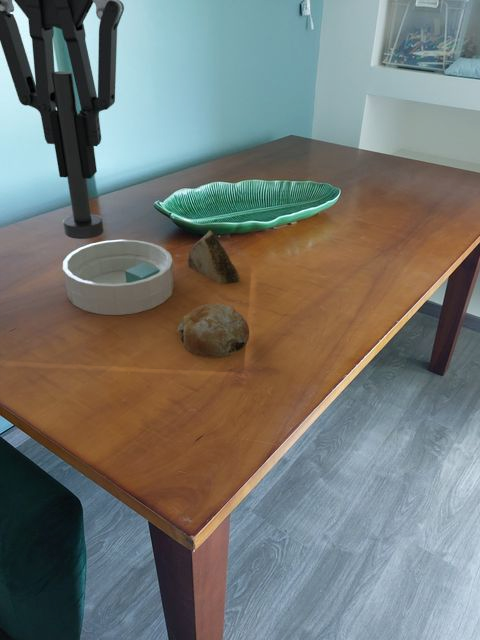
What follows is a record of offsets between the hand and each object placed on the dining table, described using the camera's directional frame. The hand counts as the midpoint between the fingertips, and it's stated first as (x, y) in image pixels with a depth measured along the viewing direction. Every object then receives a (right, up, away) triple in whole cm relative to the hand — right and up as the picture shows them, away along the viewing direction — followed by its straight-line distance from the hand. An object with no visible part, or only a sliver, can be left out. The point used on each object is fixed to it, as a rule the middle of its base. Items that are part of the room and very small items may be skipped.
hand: (78, 173), depth 61 cm
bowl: (-3, -10, +32) cm, 33 cm away
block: (+1, -10, +31) cm, 32 cm away
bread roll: (+13, -19, +20) cm, 31 cm away
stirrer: (0, -6, +3) cm, 7 cm away
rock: (+12, -6, +38) cm, 41 cm away
